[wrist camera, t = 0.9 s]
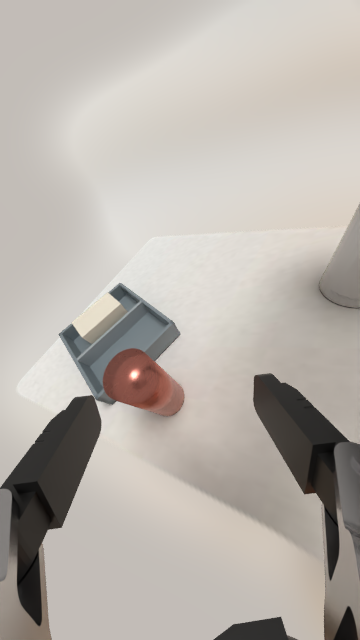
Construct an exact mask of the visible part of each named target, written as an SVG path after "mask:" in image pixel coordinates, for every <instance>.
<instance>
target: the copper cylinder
mask: <svg viewBox="0 0 360 640" xmlns="http://www.w3.org/2000/svg"><path fill="white" fill-rule="evenodd" d="M103 388H104V391H105V393H106V394H107V395H108V396H109V397H110V398H111V399H113V400H116V401H119V402H122V403H125V404H129V405H132V406H135V407H138V408H141V409H144V410H148V411H151V412H154V413H157V414H160V415H163V416H171V415H174V414H175V413H177V412H178V411H179V410H180V408H181V407H182V405H183V402H184V392H183V389H182V387H181V386H180V385H179V384H178V383H177V382H176V381H175V380H174V379H173V378H172V377H171V376H170V375H169V374H167V373H166V372H165V371H164V370H163V369H162V368H161V367H160V366H159V365H158V364H157V363H155V362H154V361H153V360H152V359H151V358H150V357H149V356H148V355H147V354H146V353H145V352H143V351H142V350H140V349H136V348H130V349H126V350H123V351H121V352H120V353H118V354H117V355H115V356H114V357H113V358H112V359H111V361H110V362H109V363H108V365H107V367H106V369H105V371H104V375H103Z"/></svg>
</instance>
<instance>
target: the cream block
mask: <svg viewBox="0 0 360 640" xmlns="http://www.w3.org/2000/svg"><path fill="white" fill-rule="evenodd" d="M127 312H128V311H127V310H126V309H125V308H124V307H123V306H122V305H121V303H119V302H118V301H117V300H116V299H115V298H114V297H113V296H111V295H110V294H109V293H106V294H105V295H104V296H103V297H102V298H100V299H99V300H98V301H97V302H96V303H94V304H93V305H92V306H91V307H90V308H88V309H87V310H86V311H85V312H84V313H82V314H81V315H80V316H79V317H78V318H77V319H75V320H74V321H73V322H72V324H73V326H74V327H75V328H76V330H77V331H78V333H79V334H80V336H81V337H82V338H83V339H85V340H86V341H88V342H89V343H91V344H93V343H94V342H95V341H96V340H98V339H99V338H100V337H101V336H102V335H103V334H104V333H105V332H106V331H108V330H109V329H110V328H111V327H112V326H113V325H114V324H115V323H116V322H118V321H119V320H120V319H121V318H122V317H123V316H124V315H125V314H126V313H127Z"/></svg>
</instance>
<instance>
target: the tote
mask: <svg viewBox="0 0 360 640" xmlns="http://www.w3.org/2000/svg"><path fill="white" fill-rule="evenodd" d="M108 293H109V294H110V295H111V296H113V297H114V298H115V299H116V300H117V301H118V302H119V303H121V305H122V306H123V307H124V308H125V309H126V310H127V311H128V312H127V313H126V314H125V315H124V316H123V317H122V318H121V319H120V320H119V321H118V322H116V323H115V324H114V325H113V326H112V327H111V328H110V329H109V330H108V331H106V332H105V333H104V334H103V335H102V336H101V337H100V338H99V339H98V340H96V341H95V342H94V343H93V344H91V343H89V342H88V341H86V340H85V339H83V338H82V337H81V336H80V334H79V333H78V331H77V330H76V328H75V327H74V326H73V324H70V325H69V326H68V327H67V328H66V329H64V330H63V331H62V332H61V333H60V334H59V336H60V338H61V339H62V341H63V343H64V345H65V346H66V348H67V350H68V352H69V353H70V355H71V357H72V359H73V360H74V362H75V364H76V365H77V367H78V369H79V371H80V372H81V374H82V376H83V378H84V379H85V381H86V383H87V385H88V386H89V388H90V390H91V392H92V393H93V395H94V397H95V399H96V400H98V401H102V402H105V403H109V404H113V403H114V402H115V401H116V400H113V399H111V398H110V397H109V396H108V395H107V394H106V393H105V391H104V388H103V375H104V371H105V369H106V367H107V365H108V363H109V362H110V361H111V359H112V358H113V357H114V356H115V355H117V354H118V353H120V352H121V351H123V350H126V349H130V348H136V349H140V350H142V351H143V352H145V353H146V354H147V355H148V356H149V357H150V358H151V359H152V360H153V361H155V360H156V359H157V358H158V357H159V356H160V354H161V353H162V352H163V351H164V350H165V349H166V348H167V347H168V346H169V345H170V344H171V343H172V342H173V341H174V340H175V339H176V338H177V337H178V336H179V335H180V332H179V331H178V329H177V327H176V325H175V323H174V322H173V321H171V320H170V319H169V318H167V317H166V316H165V315H163V314H162V313H161V312H159V311H158V310H157V309H155V308H154V307H153V306H151V305H150V304H149V303H147V302H146V301H144V300H143V299H142V298H140V297H139V296H138V295H136V294H135V293H134V292H132V291H131V290H130V289H128V288H127V287H126V286H124V285H123V284H122V283H119V284H118V285H117V286H116V287H114V288H113V289H112V290H111V291H110V292H108Z"/></svg>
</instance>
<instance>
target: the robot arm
mask: <svg viewBox="0 0 360 640" xmlns="http://www.w3.org/2000/svg"><path fill="white" fill-rule="evenodd" d="M319 287H320V290H321V292H322V293H323V295H324V296H325V297H326V298H328V299H329V300H331V301H332V302H334V303H337V304H339V305H342V306H346V307H353V308H360V204H359V206H358V208H357V210H356V212H355V214H354V216H353V218H352V220H351V222H350V224H349V226H348V228H347V230H346V231H345V233H344V235H343V237H342V239H341V241H340V243H339V245H338V247H337V249H336V251H335V253H334V255H333V257H332V259H331V261H330V263H329V264H328V266H327V268H326V270H325V272H324V274H323V276H322V278H321V280H320V283H319ZM253 401H254V407H255V410H256V412H257V414H258V416H259V418H260V419H261V421H262V423H263V425H264V426H265V428H266V430H267V431H268V433H269V435H270V436H271V438H272V440H273V442H274V443H275V445H276V447H277V448H278V450H279V452H280V454H281V455H282V457H283V459H284V460H285V462H286V464H287V465H288V467H289V469H290V471H291V472H292V474H293V476H294V477H295V479H296V481H297V482H298V484H299V486H300V488H301V489H302V491H303V493H304V494H310V493H317V495H318V497H319V498H320V500H321V501H322V508H321V509H322V527H323V546H324V564H325V588H326V589H325V605H324V637H325V640H360V444H356V443H352V442H350V441H349V440H347V439H346V438H345V437H344V436H343V435H342V434H341V433H340V432H339V431H338V430H337V429H336V428H335V427H334V426H333V425H332V424H331V423H330V422H329V421H328V420H327V419H326V418H325V417H324V416H323V415H322V414H321V413H320V412H319V411H318V410H317V409H316V408H314V407H313V405H312V404H311V403H310V402H309V401H308V400H306V398H305V397H304V396H303V395H302V394H301V393H300V392H299V391H298V390H297V389H295V388H293V387H292V386H290V385H288V384H286V383H280V381H279V380H278V379H277V378H276V377H275V376H274V375H273V374H271V373H269V374H261V375H255V377H254V397H253ZM100 431H101V418H100V415H99V411H98V408H97V405H96V402H95V399H94V397H93V396H92V395H90V396H82V397H75V398H74V399H73V400H72V401H71V403H70V404H69V406H68V407H67V408H66V410H62V411H61V412H60V413H59V414H58V415H57V416H55V417H54V418H53V419H52V420H51V421H50V422H49V424H48V425H47V426H46V428H45V429H44V430H43V433H42V434H40V436H39V437H38V438H37V440H36V441H35V444H33V445H32V446H31V448H30V449H29V450H28V452H27V453H26V455H25V456H24V457H23V458H22V460H21V461H20V462H19V464H18V465H17V466H16V468H15V469H14V470H13V472H12V473H11V474H10V475H9V477H8V478H7V479H6V481H5V482H4V483H3V485H2V486H1V488H0V640H52V638H51V634H50V629H49V619H48V606H47V591H46V576H45V562H44V548H43V544H42V541H43V539H44V537H45V535H46V532H47V530H49V529H55V528H61V527H62V526H63V523H64V520H65V518H66V516H67V513H68V511H69V508H70V506H71V503H72V501H73V498H74V496H75V493H76V491H77V488H78V486H79V484H80V481H81V479H82V476H83V474H84V471H85V469H86V466H87V464H88V462H89V459H90V457H91V454H92V452H93V449H94V447H95V444H96V442H97V439H98V437H99V434H100ZM214 640H297V639H295V638H293V637H290V636H287V635H286V631H285V628H284V625H283V622H282V619H281V617H277V618H271V619H265V620H259V621H252V622H246V623H240V624H234V625H232V626H231V627H230V628H228V629H227V630H226V631H224V632H223V633H222V634H220V635H219V636H218V637H216V638H215V639H214Z"/></svg>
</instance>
